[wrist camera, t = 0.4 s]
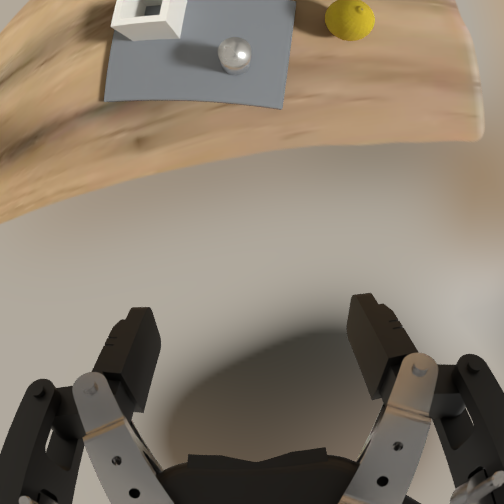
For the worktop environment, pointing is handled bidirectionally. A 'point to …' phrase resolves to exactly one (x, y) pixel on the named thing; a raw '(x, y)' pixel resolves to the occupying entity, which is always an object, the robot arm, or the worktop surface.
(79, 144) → the worktop surface
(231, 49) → the silver metal capsule
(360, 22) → the lemon
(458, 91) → the worktop surface
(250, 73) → the duct base
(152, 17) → the duct collar
